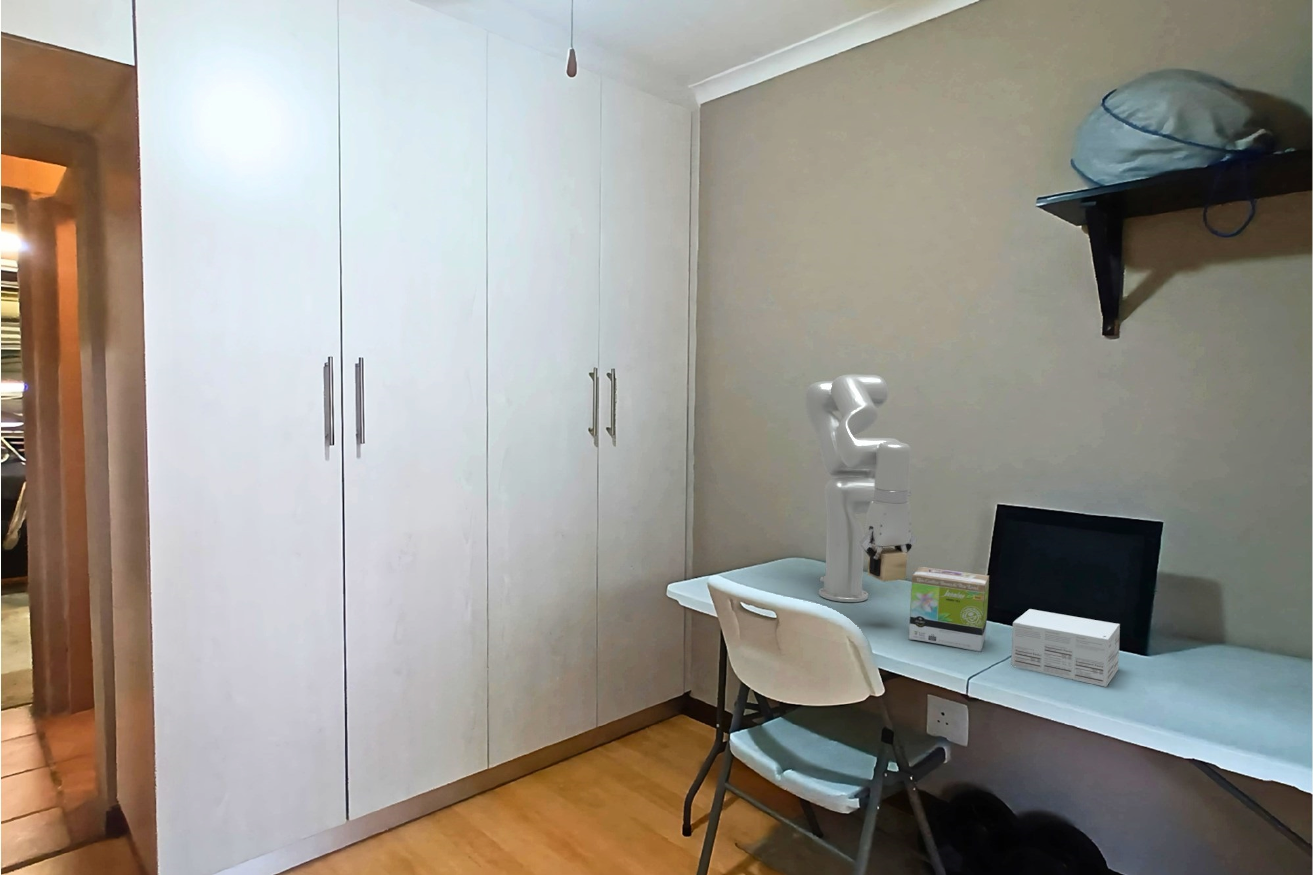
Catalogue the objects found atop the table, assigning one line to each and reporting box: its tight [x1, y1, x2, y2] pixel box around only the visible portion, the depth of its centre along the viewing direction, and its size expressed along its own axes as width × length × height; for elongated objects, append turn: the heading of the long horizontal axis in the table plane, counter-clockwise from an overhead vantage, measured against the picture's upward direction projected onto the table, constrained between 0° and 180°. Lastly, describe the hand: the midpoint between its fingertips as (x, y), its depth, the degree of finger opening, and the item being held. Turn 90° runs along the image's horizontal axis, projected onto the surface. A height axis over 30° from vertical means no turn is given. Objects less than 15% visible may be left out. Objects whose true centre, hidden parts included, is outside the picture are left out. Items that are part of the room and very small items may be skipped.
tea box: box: [908, 566, 990, 653], centre depth 168 cm, size 15×10×15 cm, turn 62°
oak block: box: [867, 546, 908, 582], centre depth 177 cm, size 6×6×6 cm
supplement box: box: [1010, 608, 1121, 688], centre depth 153 cm, size 17×13×9 cm
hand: (886, 572), depth 177 cm, fingers closed on oak block, 6 cm apart
